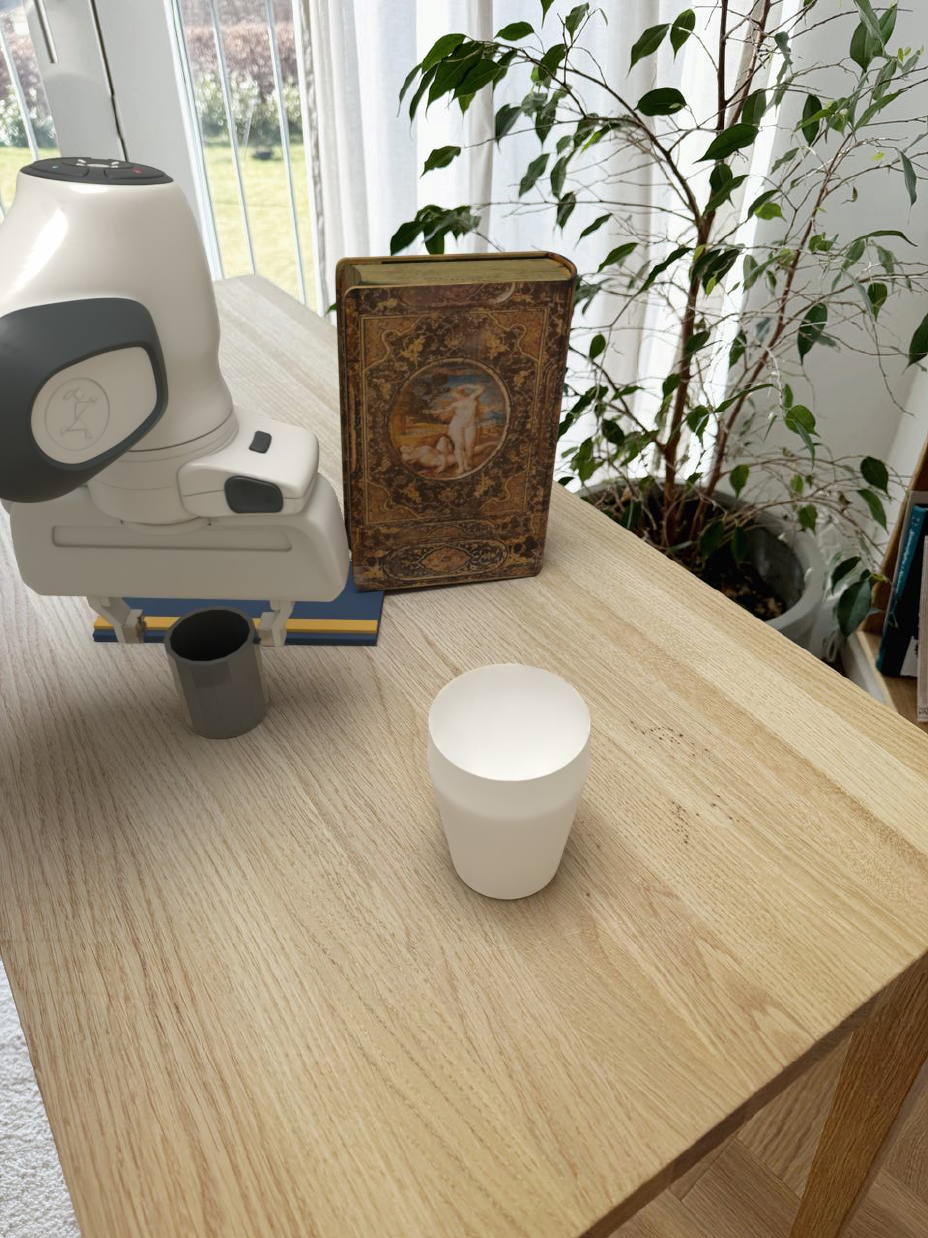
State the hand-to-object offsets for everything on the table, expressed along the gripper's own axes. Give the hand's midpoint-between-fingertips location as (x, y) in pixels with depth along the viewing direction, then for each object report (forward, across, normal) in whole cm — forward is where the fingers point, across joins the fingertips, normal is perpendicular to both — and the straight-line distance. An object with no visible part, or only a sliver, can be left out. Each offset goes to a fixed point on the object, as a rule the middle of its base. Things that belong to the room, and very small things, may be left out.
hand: (204, 639), depth 65 cm
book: (+6, +15, +17) cm, 24 cm away
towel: (+7, -1, +12) cm, 14 cm away
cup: (+7, +20, -12) cm, 24 cm away
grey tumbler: (+7, 0, 0) cm, 7 cm away
